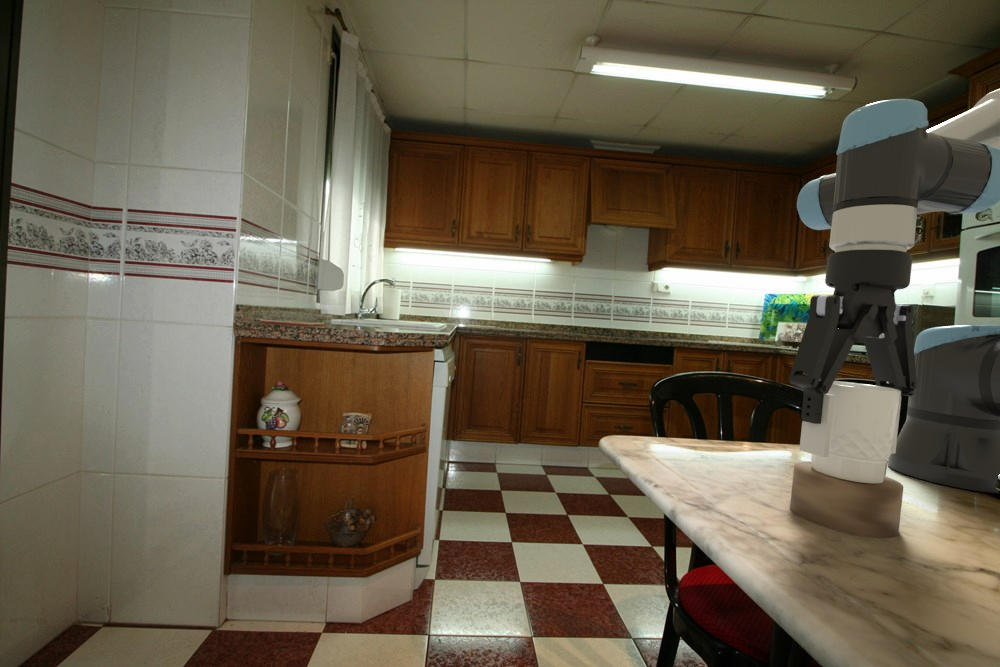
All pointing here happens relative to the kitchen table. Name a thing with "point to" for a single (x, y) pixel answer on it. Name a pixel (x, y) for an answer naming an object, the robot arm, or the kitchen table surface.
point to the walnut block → (846, 503)
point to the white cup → (860, 432)
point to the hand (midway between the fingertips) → (848, 451)
